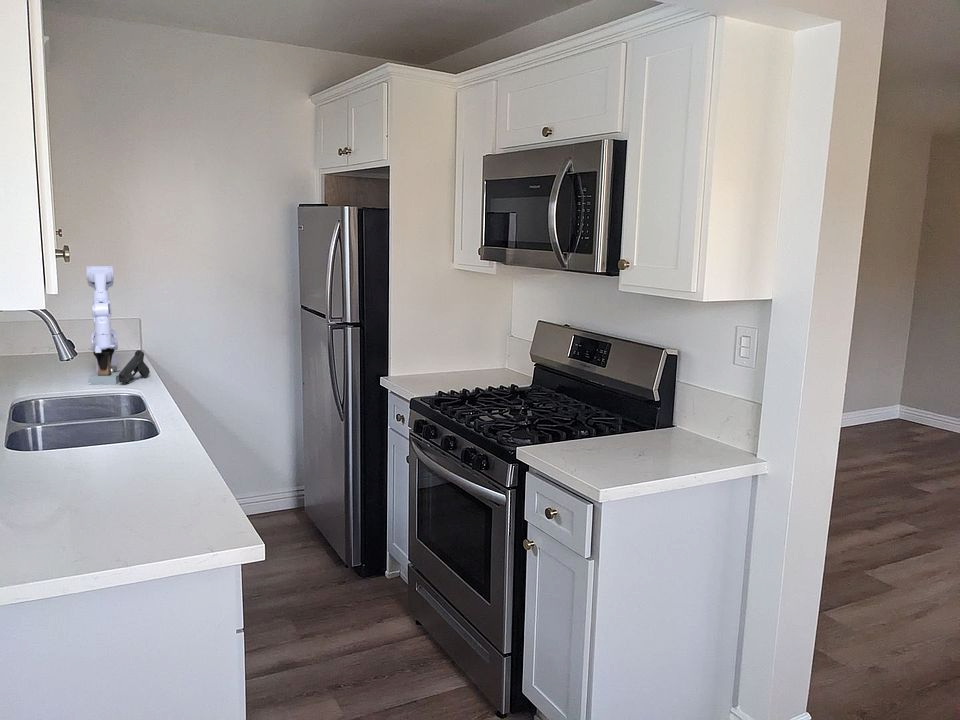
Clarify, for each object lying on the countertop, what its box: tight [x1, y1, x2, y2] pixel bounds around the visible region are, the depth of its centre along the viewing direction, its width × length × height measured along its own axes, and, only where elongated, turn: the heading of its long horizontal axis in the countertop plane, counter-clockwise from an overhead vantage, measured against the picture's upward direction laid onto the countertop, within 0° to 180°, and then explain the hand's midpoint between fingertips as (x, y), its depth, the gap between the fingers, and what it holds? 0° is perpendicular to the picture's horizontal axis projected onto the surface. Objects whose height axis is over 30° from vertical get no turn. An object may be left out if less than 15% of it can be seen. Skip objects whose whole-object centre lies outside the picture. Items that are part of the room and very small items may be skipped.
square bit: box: [97, 355, 111, 375], centre depth 293 cm, size 4×4×7 cm
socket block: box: [87, 371, 121, 385], centre depth 294 cm, size 9×10×3 cm
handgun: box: [118, 349, 151, 385], centre depth 296 cm, size 2×17×12 cm, turn 174°
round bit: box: [111, 365, 119, 372], centre depth 301 cm, size 4×4×5 cm
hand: (105, 368), depth 293 cm, fingers closed on square bit, 4 cm apart
